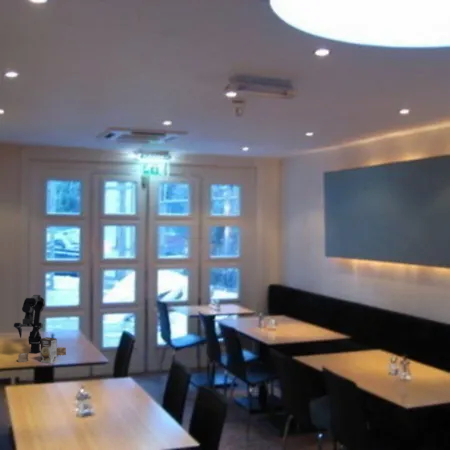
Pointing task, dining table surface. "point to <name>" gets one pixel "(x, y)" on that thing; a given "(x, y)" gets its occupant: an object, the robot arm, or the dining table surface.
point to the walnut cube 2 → (61, 351)
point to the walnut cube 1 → (23, 357)
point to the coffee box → (48, 350)
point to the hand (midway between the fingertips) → (27, 337)
